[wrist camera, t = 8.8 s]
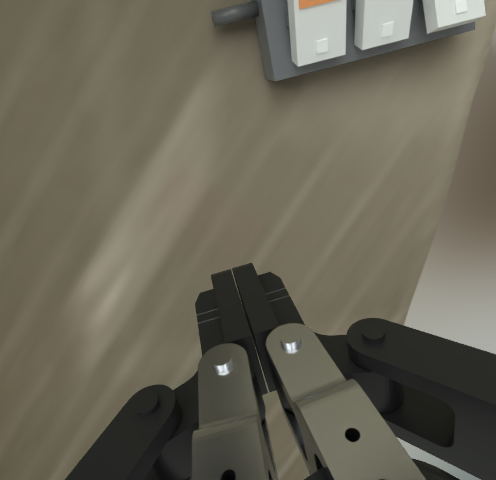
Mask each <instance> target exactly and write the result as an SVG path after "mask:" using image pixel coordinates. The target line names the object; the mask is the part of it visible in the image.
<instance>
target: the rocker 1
mask: <svg viewBox="0 0 496 480" xmlns="http://www.w3.org/2000/svg"><path fill="white" fill-rule="evenodd" d="M287 1H288V15H289V29H290V43H291V57H292V62H293V63H294V64H295V65H297V66H298V67H299V66H303V65H307V64H311V63H315V62H318V61H322V60H326V59H330V58H334V57H338V56H342V55H345V52H346V3H347V0H287Z"/></svg>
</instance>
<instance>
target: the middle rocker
mask: <svg viewBox="0 0 496 480" xmlns="http://www.w3.org/2000/svg"><path fill="white" fill-rule="evenodd" d="M412 7H413V0H356V11H355V35H354V45H355V46H357V47H358V48H360V49H361V50H365V49H368V48H372V47H376V46H380V45H384V44H388V43H392V42H396V41H400V40H403V39H407V38H409V30H410V22H411V15H412Z"/></svg>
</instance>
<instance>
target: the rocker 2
mask: <svg viewBox="0 0 496 480" xmlns="http://www.w3.org/2000/svg"><path fill="white" fill-rule="evenodd" d="M422 1H423V8H424V15H425V22H426V29H427V34H429V33H432V32H436V31H440V30H444V29H448V28H452V27H456V26H460V25H463V24H467V23H471V22H474V21H476V20H478V19H480V18H482V17H484V16H486V15H485V6H484V0H422Z"/></svg>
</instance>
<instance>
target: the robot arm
mask: <svg viewBox="0 0 496 480" xmlns="http://www.w3.org/2000/svg"><path fill="white" fill-rule="evenodd" d="M232 270H233V274H234V277H235V281H236V284H237V288H238V291H239V294H238V291H237V288H236V285H235V282H234V278H233V275H232V272H231V269H229V270H226V271H222V272H219V273H216V274H212V275H211V279H212V283H213V288H214V289H212V290H209V291H205V292H202V293H200V294H199V296H198V298H197V301H196V303H195V306H196V314H197V321H198V328H199V335H200V343H201V350H202V358H201V359H200V361H199V364H198V371H197V372H196V374H195V375H194V376H193V377H192V378H191V379H190V380H188V381H187V382H185V383H184V384H182V385H181V386H179V387H177V388H176V389H174V390H173V391H172V389H171V388H169V387H168V386H165V385H152V386H148V387H146V388H143V389H142V390H140V391H138V392H137V393H136V394H134V395H133V396H132V397H131V398H130V399H129V400H128V402H127V403H126V404H125V405H124V407H123V408H122V409H121V410H120V412H119V413H118V414H117V415H116V417H115V418H114V419H113V420H112V422H111V423H110V424H109V425H108V427H107V428H106V429H105V430H104V432H103V433H102V434H101V435H100V437H99V438H98V439H97V440H96V442H95V443H94V444H93V445H92V447H91V448H90V449H89V450H88V452H87V453H86V454H85V455H84V457H83V458H82V459H81V460H80V461H79V463H78V464H77V465H76V466H75V468H74V469H73V470H72V471H71V473H70V474H69V475H68V476H67V478H66V479H65V480H278V476H277V471H276V466H275V460H274V455H273V450H272V445H271V440H270V435H269V430H268V425H267V420H266V417H265V410H266V409H265V405H264V401H263V398H262V395H263V394H266V393H268V392H267V389H266V385H265V381H264V378H263V374H262V371H261V367H260V363H261V366H262V369H263V372H264V375H265V379H266V382H267V385H268V388H269V391H270V392H272V391H275V390H277V393H278V395H279V398H280V402H281V405H282V409H283V413H284V415H285V418H286V420H287V422H288V425H289V427H290V429H291V432H292V434H293V436H294V438H295V441H296V443H297V445H298V448H299V450H300V452H301V454H302V457H303V459H304V461H305V464H306V466H307V468H308V471H309V473H310V476H309V477H307V478H306V479H304V480H460V479H458V478H456V477H454V476H452V475H450V474H449V473H447V472H445V471H443V470H441V469H439V468H437V467H435V466H433V465H430V464H428V463H426V462H423V461H419V460H416V459H412V458H411V457H410V456H409V455H408V453H407V452H406V450H405V449H404V448H403V446H402V445H401V443H400V442H399V441H398V439H397V438H396V437H398V438H400V439H402V440H404V441H406V442H408V443H410V444H412V445H414V446H416V447H418V448H420V449H422V450H424V451H426V452H428V453H430V454H432V455H434V456H436V457H438V458H440V459H442V460H444V461H446V462H448V463H450V464H452V465H454V466H456V467H458V468H460V469H462V470H464V471H466V472H467V473H469V474H471V475H474V476H475V477H477V478H479V479H481V480H496V354H493V353H490V352H486V351H483V350H480V349H477V348H474V347H470V346H467V345H464V344H460V343H457V342H454V341H451V340H448V339H444V338H441V337H438V336H435V335H432V334H429V333H425V332H422V331H419V330H416V329H412V328H409V327H406V326H403V325H400V324H397V323H393V322H390V321H387V320H384V319H379V318H367V319H362V320H359V321H357V322H355V323H354V324H353V325H351V327H350V328H349V329H348V331H347V335H335V336H327V335H321V334H317V333H315V332H313V331H312V329H310V328H309V327H308V326H306V325H305V324H304V322H303V321H302V319H301V317H300V315H299V313H298V311H297V309H296V307H295V305H294V303H293V301H292V299H291V298H290V296H289V294H288V292H287V290H286V289H285V286H284V284H283V282H282V280H281V278H279V277H278V276H276V275H275V274H273V273H271V272H268V273H265V274H262V275H257V273H256V271H255V268H254V266H253V264H252V263H249V264H246V265H242V266H239V267H235V268H232ZM239 295H240V297H239ZM240 299H241V300H240ZM241 302H242V304H241ZM242 306H243V307H242ZM243 309H244V310H243ZM244 312H245V313H244ZM249 328H250V329H249ZM253 341H254V342H253ZM254 344H255V346H254ZM255 347H256V349H255ZM256 350H257V353H258V356H257V353H256ZM258 357H259V360H260V363H259V360H258Z"/></svg>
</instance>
